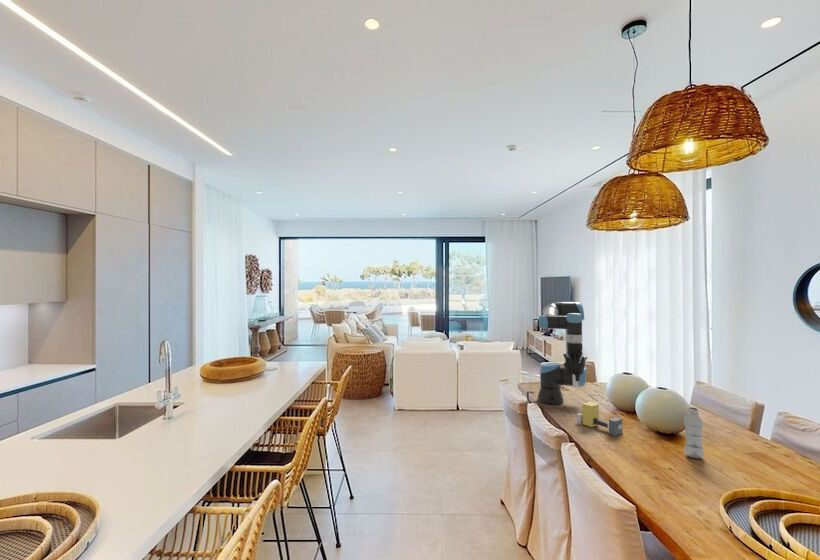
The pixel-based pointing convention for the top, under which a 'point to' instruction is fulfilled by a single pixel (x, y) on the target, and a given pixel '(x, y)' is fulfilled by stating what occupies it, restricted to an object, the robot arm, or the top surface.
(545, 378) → the robot arm
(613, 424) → the grey slider rail
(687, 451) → the plastic bottle
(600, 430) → the top surface
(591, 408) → the yellow rectangular block
